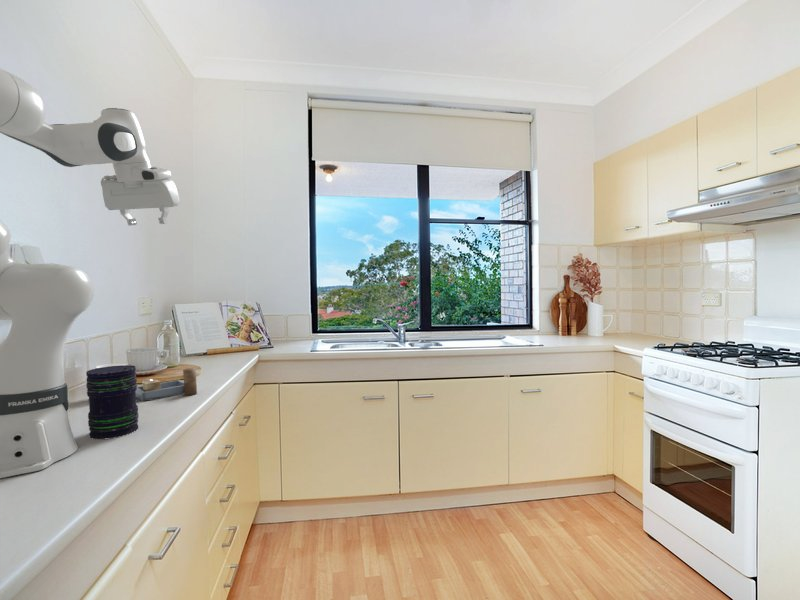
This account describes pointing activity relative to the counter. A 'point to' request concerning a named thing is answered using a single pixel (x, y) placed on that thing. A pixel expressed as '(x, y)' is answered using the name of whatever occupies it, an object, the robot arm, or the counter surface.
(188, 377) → the brown wooden peg
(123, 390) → the dark blue cylinder
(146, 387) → the oak block
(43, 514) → the counter surface
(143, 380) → the silver dome cap
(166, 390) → the tray
